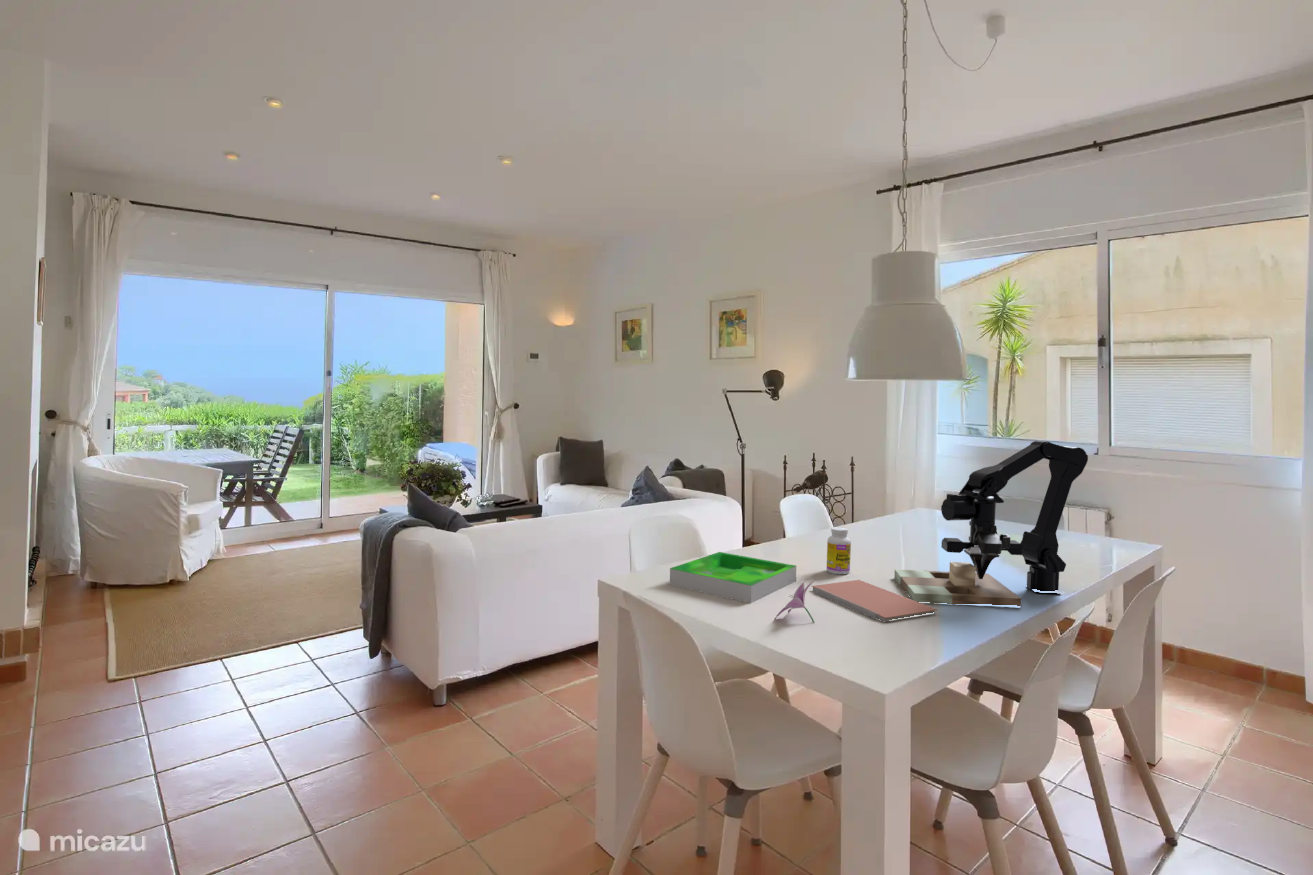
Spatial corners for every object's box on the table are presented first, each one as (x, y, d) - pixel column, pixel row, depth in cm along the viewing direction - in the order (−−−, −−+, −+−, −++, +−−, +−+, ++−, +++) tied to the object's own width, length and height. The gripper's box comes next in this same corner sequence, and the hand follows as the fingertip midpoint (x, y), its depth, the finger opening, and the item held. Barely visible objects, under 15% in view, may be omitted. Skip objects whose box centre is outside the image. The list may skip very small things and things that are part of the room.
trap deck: (987, 582, 187) (988, 573, 186) (1020, 608, 164) (1021, 598, 164) (894, 578, 190) (894, 569, 190) (914, 602, 167) (914, 593, 167)
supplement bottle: (833, 575, 192) (835, 531, 191) (822, 569, 198) (823, 526, 197) (854, 574, 194) (855, 530, 193) (842, 568, 200) (843, 525, 199)
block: (968, 581, 179) (969, 562, 178) (975, 586, 174) (975, 567, 173) (949, 580, 179) (949, 561, 179) (954, 585, 174) (955, 566, 174)
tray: (751, 605, 166) (751, 585, 165) (669, 586, 181) (669, 568, 181) (795, 583, 186) (796, 565, 185) (719, 568, 201) (719, 551, 200)
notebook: (808, 592, 177) (808, 585, 177) (858, 585, 184) (859, 578, 183) (881, 625, 152) (881, 616, 152) (936, 616, 159) (937, 608, 159)
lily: (813, 614, 161) (794, 578, 162) (843, 609, 151) (822, 570, 152) (776, 638, 155) (757, 600, 157) (805, 634, 145) (784, 593, 146)
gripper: (954, 524, 168) (952, 585, 169) (1034, 526, 165) (1031, 589, 166) (941, 516, 179) (939, 573, 180) (1016, 518, 176) (1013, 577, 177)
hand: (980, 578), depth 176 cm, fingers closed
